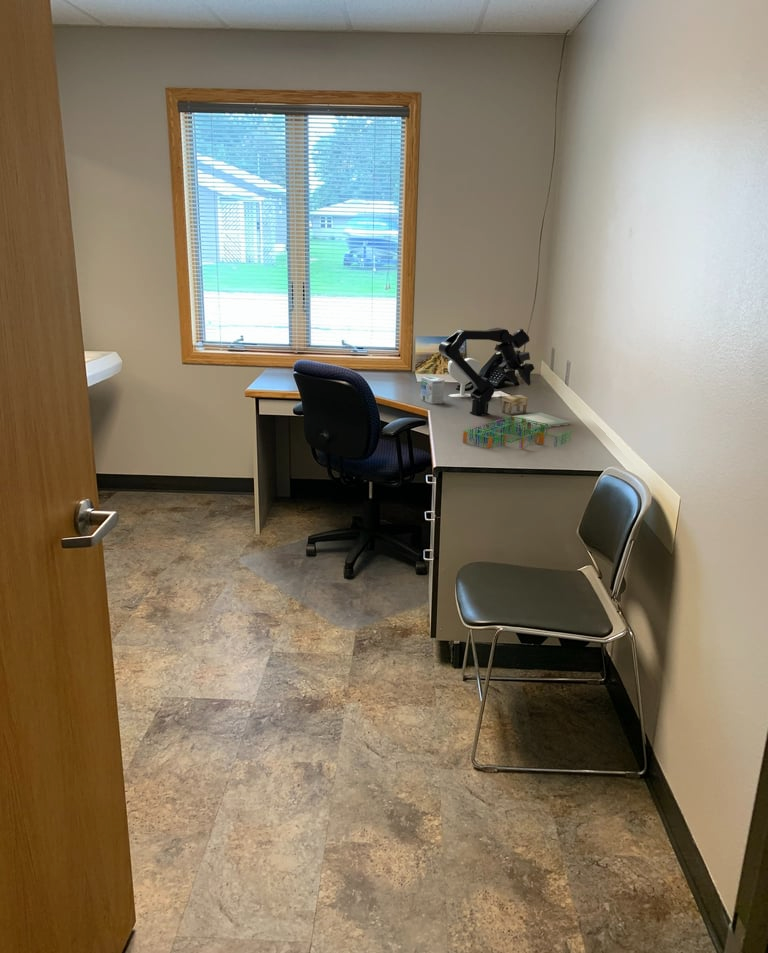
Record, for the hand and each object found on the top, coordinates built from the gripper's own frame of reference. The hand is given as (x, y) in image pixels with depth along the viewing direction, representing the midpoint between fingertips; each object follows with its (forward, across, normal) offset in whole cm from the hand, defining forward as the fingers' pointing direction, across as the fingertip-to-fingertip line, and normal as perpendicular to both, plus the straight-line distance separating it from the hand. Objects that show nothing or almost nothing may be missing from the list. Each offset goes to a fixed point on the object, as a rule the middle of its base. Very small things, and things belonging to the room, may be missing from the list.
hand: (522, 384), depth 331 cm
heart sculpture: (+6, +39, +9) cm, 40 cm away
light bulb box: (-5, +34, +27) cm, 44 cm away
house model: (-3, -38, +37) cm, 53 cm away
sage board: (+9, -18, +11) cm, 23 cm away
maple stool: (+8, 0, +10) cm, 13 cm away
